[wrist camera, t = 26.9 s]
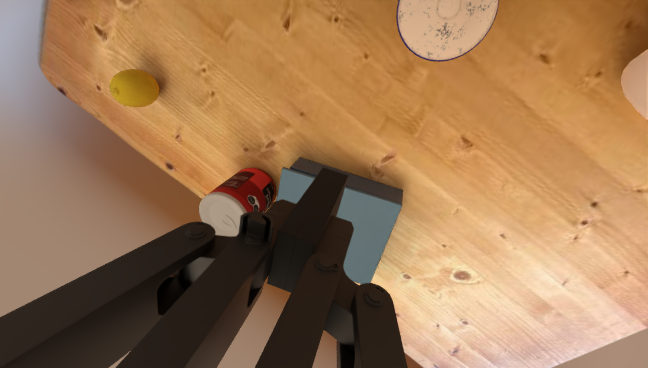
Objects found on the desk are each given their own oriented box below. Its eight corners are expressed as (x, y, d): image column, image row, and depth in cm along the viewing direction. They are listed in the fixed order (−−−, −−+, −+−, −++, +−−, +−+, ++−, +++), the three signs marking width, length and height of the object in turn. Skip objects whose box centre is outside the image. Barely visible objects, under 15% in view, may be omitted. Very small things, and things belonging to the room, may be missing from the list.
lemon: (148, 104, 52) (106, 113, 45) (136, 70, 50) (91, 73, 42) (174, 101, 50) (135, 109, 43) (163, 65, 48) (120, 68, 41)
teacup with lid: (498, 10, 34) (535, -6, 24) (435, 74, 39) (445, 84, 28) (422, -66, 33) (427, -117, 23) (367, 8, 38) (350, -6, 27)
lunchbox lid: (268, 250, 51) (267, 252, 51) (283, 166, 44) (282, 168, 43) (369, 284, 49) (368, 286, 49) (402, 203, 42) (402, 205, 42)
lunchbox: (284, 234, 56) (274, 249, 52) (300, 157, 48) (290, 166, 44) (372, 266, 53) (369, 284, 50) (402, 190, 46) (402, 203, 42)
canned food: (266, 214, 55) (236, 250, 45) (230, 189, 55) (191, 220, 45) (285, 184, 51) (256, 215, 41) (246, 157, 51) (207, 183, 41)
